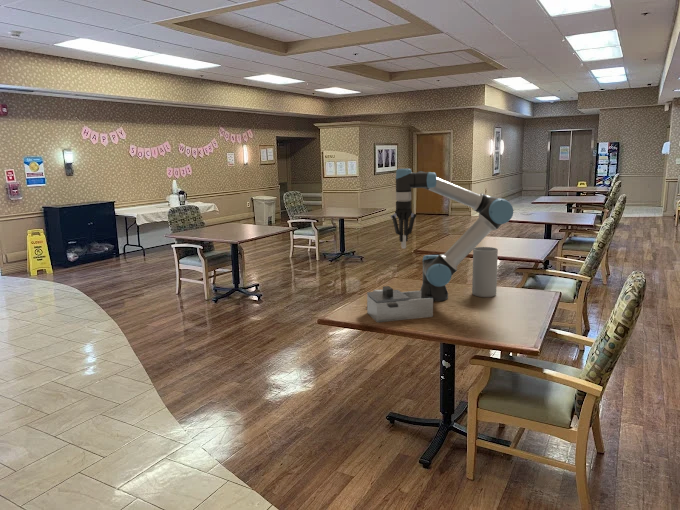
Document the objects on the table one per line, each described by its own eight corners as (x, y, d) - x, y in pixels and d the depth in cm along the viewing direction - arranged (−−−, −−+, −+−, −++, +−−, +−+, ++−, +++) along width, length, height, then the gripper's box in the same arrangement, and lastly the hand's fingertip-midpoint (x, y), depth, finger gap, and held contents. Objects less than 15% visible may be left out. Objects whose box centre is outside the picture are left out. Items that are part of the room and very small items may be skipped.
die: (382, 310, 258) (392, 293, 259) (367, 301, 258) (376, 284, 260) (381, 311, 266) (390, 294, 268) (366, 302, 267) (375, 286, 268)
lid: (397, 291, 254) (397, 282, 253) (409, 299, 239) (409, 290, 238) (367, 294, 250) (367, 285, 249) (377, 302, 235) (377, 293, 234)
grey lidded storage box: (418, 306, 260) (418, 289, 258) (434, 317, 242) (434, 299, 240) (366, 312, 253) (365, 294, 252) (378, 323, 235) (378, 304, 234)
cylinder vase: (470, 291, 287) (472, 246, 282) (494, 291, 285) (495, 246, 280) (473, 297, 275) (474, 251, 270) (497, 297, 273) (499, 251, 268)
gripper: (413, 199, 259) (413, 246, 263) (388, 200, 256) (388, 247, 260) (418, 200, 252) (418, 248, 256) (393, 201, 249) (393, 250, 253)
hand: (403, 248), depth 258 cm, fingers closed
